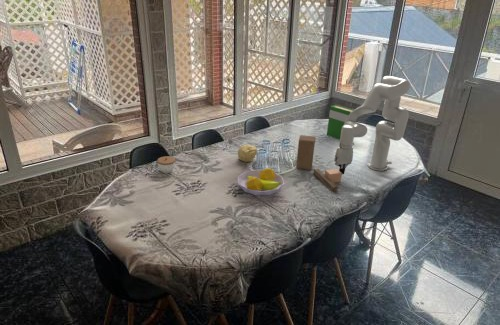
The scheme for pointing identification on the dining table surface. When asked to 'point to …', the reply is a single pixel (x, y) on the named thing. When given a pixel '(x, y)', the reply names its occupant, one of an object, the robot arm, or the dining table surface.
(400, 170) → the dining table surface
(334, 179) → the block
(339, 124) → the hardback book
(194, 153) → the dining table surface
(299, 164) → the wooden block
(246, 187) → the fruit bowl
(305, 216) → the dining table surface
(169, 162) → the lidded jar
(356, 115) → the robot arm
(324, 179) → the brown wooden bar
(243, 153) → the pale yellow lumpy ball
